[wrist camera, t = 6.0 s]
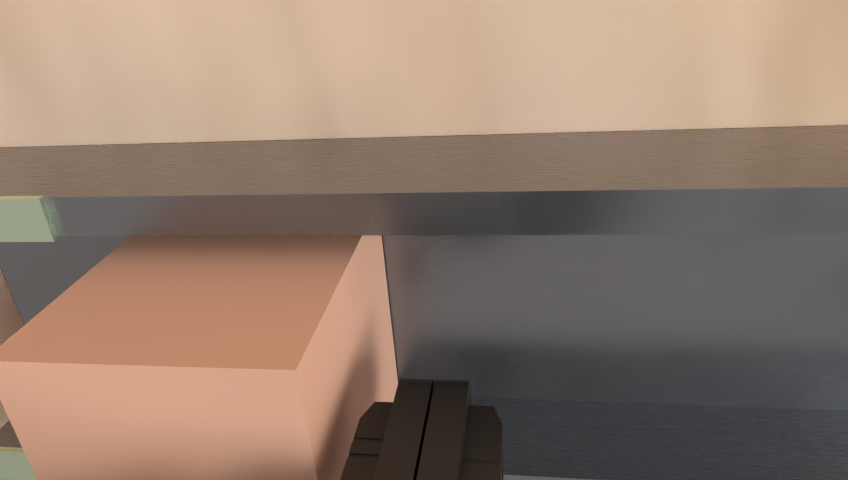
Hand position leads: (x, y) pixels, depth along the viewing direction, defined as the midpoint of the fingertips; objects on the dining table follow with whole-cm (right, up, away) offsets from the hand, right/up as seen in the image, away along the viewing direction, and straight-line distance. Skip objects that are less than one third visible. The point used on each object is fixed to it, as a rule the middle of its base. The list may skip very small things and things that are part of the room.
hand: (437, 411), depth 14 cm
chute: (0, +2, +5) cm, 6 cm away
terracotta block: (-4, +2, +5) cm, 7 cm away
